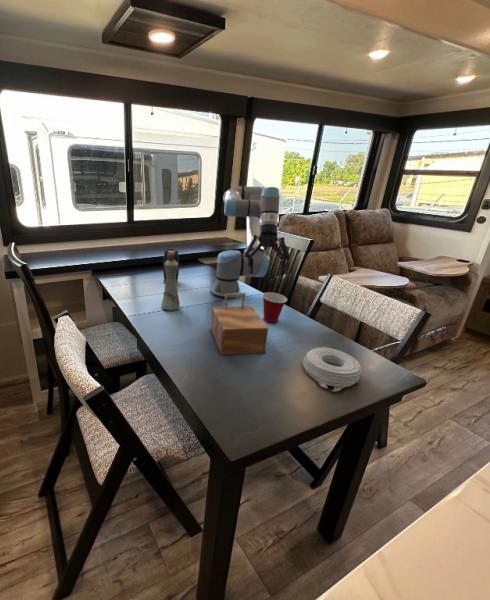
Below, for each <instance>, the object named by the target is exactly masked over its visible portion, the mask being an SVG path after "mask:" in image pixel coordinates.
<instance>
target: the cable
mask: <svg viewBox="0 0 490 600" xmlns="http://www.w3.org/2000/svg"><path fill="white" fill-rule="evenodd" d="M302 365H303V368H304V370H305V372H306V373H307V374H308V375H309V376H310V377H311V378H312V379H313V380H314V381H315V382H317V383H318V385H319V386H320V387H321V388H322V389H326V390H327V389H329V388H328V386H330V387H333V389H331V392H332V393H337V392H339V391H341V390H342V389H344V388H348V387H351V386H353V385H355V384H357V383H358V382H359V380H360V377H361V375H362V366H361V364H360V363H359V361H358V360H357V359H356V358H354V357H353V356H351V355H350V354H348V353H347V352H344V351H341V350H339V349H334V348H332V347H316V348H312V349H311V350H309V351H308V352H307V353H306V355H305V356H304V358H303V360H302Z"/></svg>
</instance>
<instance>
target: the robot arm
mask: <svg viewBox="0 0 490 600" xmlns="http://www.w3.org/2000/svg"><path fill="white" fill-rule="evenodd" d="M280 198H281V190H280V188H278V187H275V186H268V187H264V186H245V185H243V186H242V185H239V186H233V187H231V188H228V189H227V190H226V191H225V192H224V193H223V196H222V201H223V203H224V209H223V212H224V216H225V217H231V218H232V217H242V218H243V217H245V218H246V219H245V220H246V221H245V222H246V223H245V225H246V226H245V227H246V232H245V233H246V234H245V237H246V238H245V241H246V242H245V249H244V251H243V253H241V251H240V250H234V249H232V250H231V249H230V250H229V249H228V250H224V251H221V252H220V253H218V255H217V261H216V263H217V264H216V274H215V275H216V276H215V280H214V283H213V285H212V288H211V294H212V295H213V296H215V297H218V298H222V299H225V293H241V291H240V286H239V285H240V284H239V277H247V278H250V277H251V278H264V277H265V276H266V275H267V272H268V270H269V265H270V256H269V255H268V254H266V253H267V252H266V250H265V249H264V248H271V249H272V250H273V251H274V252H275V253H276V255H277V256H278V258H279V263H278V277H284V269H286V267H287V266H286V265H287V261H289V260H291V258H292V257H291V255H290V252H289V250H288V247H287V245H286V242H285V237H284V236H282V237H278V234H279V233H278V231H279V226H278V224H279V214H280ZM277 242H278V243H277Z"/></svg>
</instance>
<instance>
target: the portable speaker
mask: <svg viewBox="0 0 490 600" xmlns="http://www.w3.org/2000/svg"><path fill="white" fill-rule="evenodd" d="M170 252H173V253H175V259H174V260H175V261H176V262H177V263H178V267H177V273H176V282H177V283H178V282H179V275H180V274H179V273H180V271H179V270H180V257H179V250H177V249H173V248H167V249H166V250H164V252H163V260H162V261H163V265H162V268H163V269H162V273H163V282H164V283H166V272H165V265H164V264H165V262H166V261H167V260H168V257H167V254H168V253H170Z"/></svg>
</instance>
